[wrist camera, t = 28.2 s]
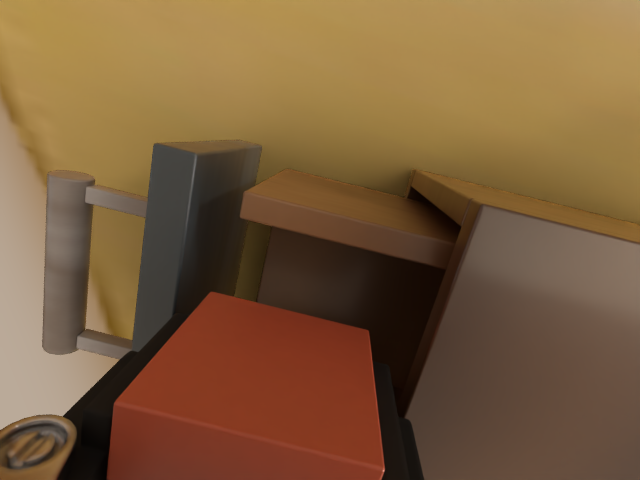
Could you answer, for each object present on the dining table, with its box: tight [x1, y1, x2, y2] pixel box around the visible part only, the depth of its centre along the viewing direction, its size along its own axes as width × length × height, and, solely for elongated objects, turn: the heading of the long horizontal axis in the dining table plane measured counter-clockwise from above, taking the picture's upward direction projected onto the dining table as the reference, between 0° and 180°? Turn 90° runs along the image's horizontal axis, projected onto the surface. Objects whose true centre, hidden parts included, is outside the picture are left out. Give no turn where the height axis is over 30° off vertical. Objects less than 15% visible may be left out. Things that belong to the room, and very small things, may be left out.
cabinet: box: [397, 169, 640, 480], centre depth 15 cm, size 15×13×10 cm
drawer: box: [42, 140, 461, 407], centre depth 15 cm, size 18×11×8 cm, turn 77°
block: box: [106, 292, 385, 480], centre depth 9 cm, size 4×4×4 cm
